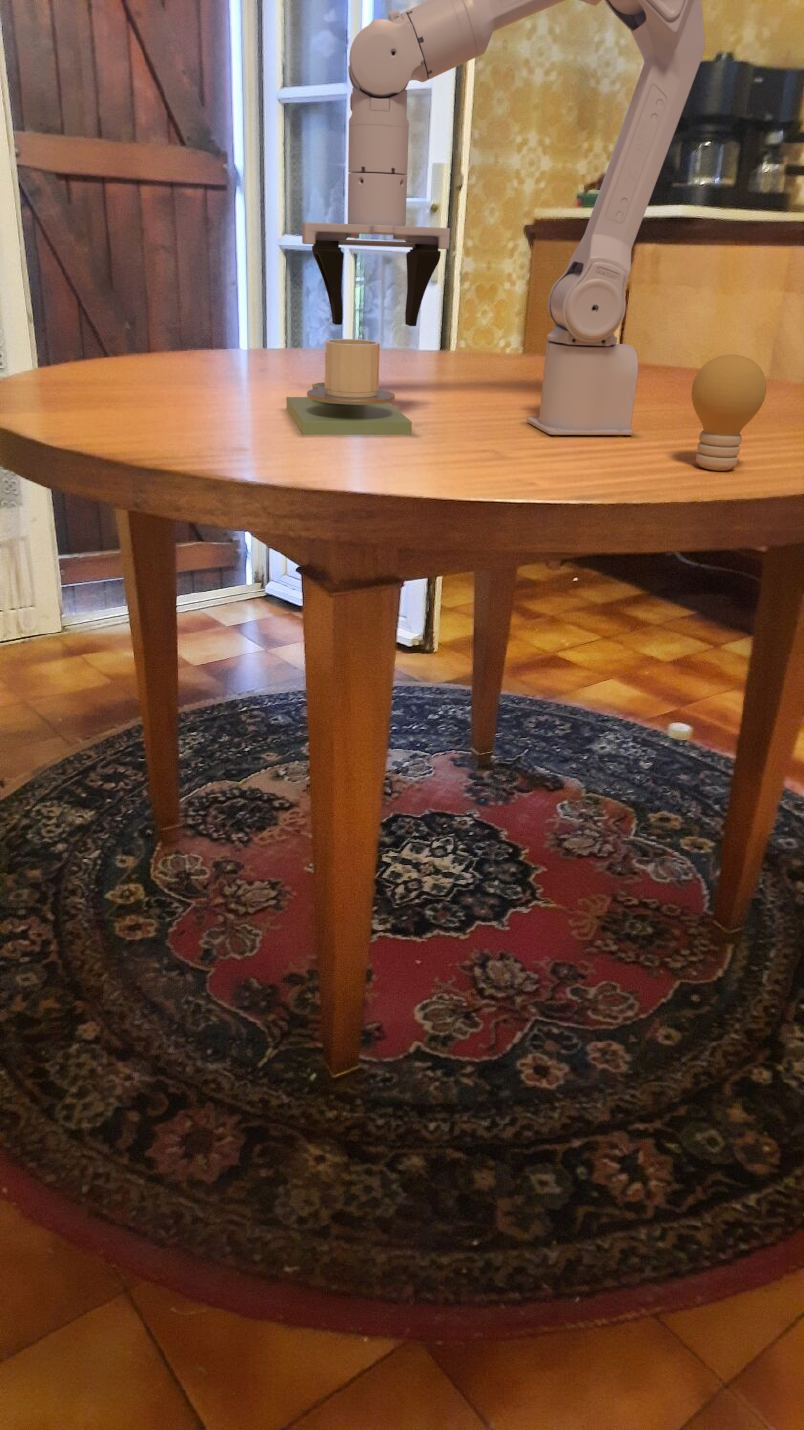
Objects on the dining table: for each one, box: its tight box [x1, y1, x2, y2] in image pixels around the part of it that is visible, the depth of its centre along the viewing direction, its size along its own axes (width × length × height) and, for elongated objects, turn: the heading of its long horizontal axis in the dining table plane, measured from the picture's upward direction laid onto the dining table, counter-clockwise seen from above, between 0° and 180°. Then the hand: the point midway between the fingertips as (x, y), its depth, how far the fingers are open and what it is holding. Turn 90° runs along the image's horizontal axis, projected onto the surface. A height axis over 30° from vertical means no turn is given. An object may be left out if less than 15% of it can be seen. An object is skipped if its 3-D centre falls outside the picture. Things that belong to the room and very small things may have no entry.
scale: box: [286, 381, 413, 436], centre depth 108 cm, size 15×11×3 cm
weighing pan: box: [306, 388, 396, 405], centre depth 104 cm, size 9×9×1 cm
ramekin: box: [324, 338, 381, 398], centre depth 103 cm, size 5×5×5 cm
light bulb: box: [691, 354, 767, 472], centre depth 92 cm, size 6×6×10 cm
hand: (374, 324), depth 104 cm, fingers open, 7 cm apart
